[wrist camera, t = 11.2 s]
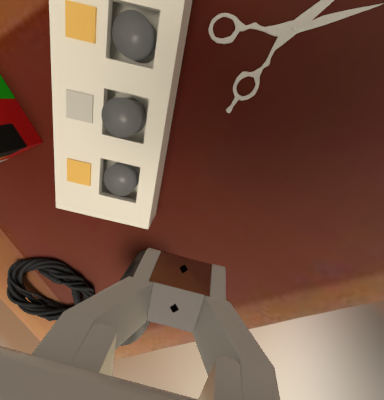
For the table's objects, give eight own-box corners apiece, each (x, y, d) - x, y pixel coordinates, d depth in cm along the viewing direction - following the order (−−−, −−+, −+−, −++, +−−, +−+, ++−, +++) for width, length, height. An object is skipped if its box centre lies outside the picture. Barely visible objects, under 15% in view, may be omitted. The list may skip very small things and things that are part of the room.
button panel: (194, -12, 27) (189, -35, 22) (155, 213, 39) (147, 230, 34) (75, -40, 27) (44, -70, 22) (74, 194, 39) (54, 208, 34)
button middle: (148, 101, 29) (140, 102, 26) (144, 136, 31) (136, 141, 28) (114, 93, 29) (102, 93, 26) (112, 129, 31) (100, 132, 28)
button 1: (162, 24, 27) (155, 14, 24) (156, 66, 29) (149, 63, 26) (125, 15, 27) (113, 4, 24) (122, 58, 29) (110, 53, 26)
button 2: (143, 163, 34) (136, 169, 31) (140, 190, 36) (132, 199, 33) (114, 156, 34) (104, 162, 31) (112, 183, 36) (102, 191, 33)
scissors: (193, 29, 28) (376, -83, 23) (194, 30, 29) (371, -77, 24) (227, 114, 32) (391, 34, 27) (227, 113, 32) (387, 35, 27)
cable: (5, 272, 48) (-14, 288, 44) (41, 237, 44) (24, 251, 40) (69, 320, 53) (58, 339, 49) (109, 293, 48) (99, 311, 44)
